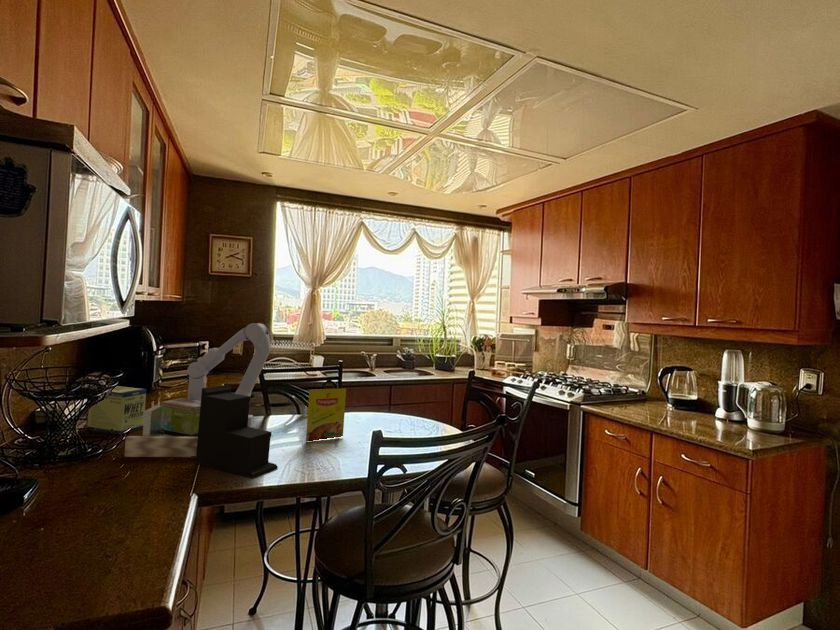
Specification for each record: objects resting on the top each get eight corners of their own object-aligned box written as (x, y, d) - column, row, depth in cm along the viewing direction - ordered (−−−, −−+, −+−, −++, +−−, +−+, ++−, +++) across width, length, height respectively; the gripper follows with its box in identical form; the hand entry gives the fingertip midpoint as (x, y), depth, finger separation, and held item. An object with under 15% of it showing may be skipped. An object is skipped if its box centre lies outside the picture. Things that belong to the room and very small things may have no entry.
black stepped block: (278, 469, 134) (283, 392, 135) (252, 479, 124) (257, 397, 125) (223, 455, 144) (228, 384, 144) (194, 464, 134) (200, 387, 134)
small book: (159, 446, 148) (162, 405, 148) (148, 454, 139) (151, 411, 139) (152, 446, 148) (155, 405, 148) (141, 454, 139) (144, 410, 139)
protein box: (120, 435, 158) (124, 392, 159) (85, 430, 162) (89, 388, 162) (144, 429, 169) (147, 388, 169) (110, 424, 172) (114, 385, 172)
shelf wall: (214, 455, 143) (216, 436, 143) (213, 457, 141) (214, 438, 141) (127, 454, 138) (128, 435, 138) (124, 456, 136) (125, 437, 136)
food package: (306, 443, 163) (310, 389, 164) (305, 442, 164) (308, 389, 165) (343, 439, 172) (346, 388, 173) (342, 438, 173) (345, 388, 174)
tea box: (155, 444, 151) (158, 401, 151) (178, 437, 160) (181, 397, 161) (190, 450, 146) (193, 406, 147) (212, 442, 156) (215, 401, 156)
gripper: (191, 390, 169) (188, 425, 168) (178, 397, 155) (175, 435, 154) (210, 391, 170) (208, 425, 170) (199, 397, 156) (196, 435, 156)
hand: (193, 430), depth 162 cm, fingers closed
